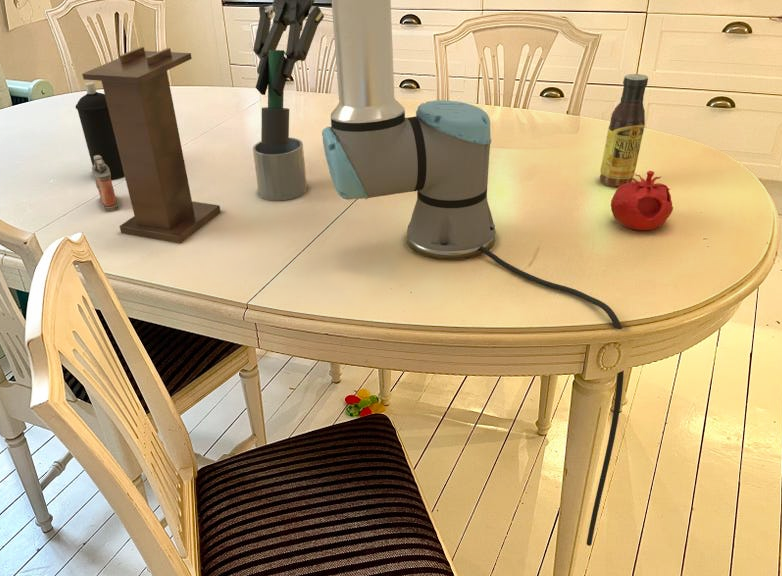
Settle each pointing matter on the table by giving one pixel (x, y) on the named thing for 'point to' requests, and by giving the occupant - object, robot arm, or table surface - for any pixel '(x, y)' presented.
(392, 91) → the robot arm
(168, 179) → the stand
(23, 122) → the table surface
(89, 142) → the aerosol can
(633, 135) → the sauce bottle
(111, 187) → the lighter
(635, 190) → the red hollow tomato
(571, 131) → the table surface
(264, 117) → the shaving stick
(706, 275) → the table surface
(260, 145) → the steel cup
